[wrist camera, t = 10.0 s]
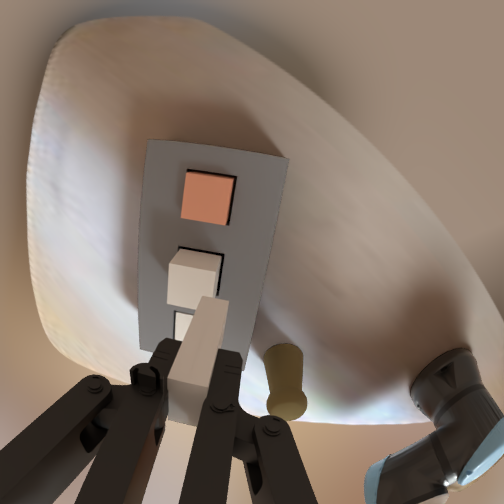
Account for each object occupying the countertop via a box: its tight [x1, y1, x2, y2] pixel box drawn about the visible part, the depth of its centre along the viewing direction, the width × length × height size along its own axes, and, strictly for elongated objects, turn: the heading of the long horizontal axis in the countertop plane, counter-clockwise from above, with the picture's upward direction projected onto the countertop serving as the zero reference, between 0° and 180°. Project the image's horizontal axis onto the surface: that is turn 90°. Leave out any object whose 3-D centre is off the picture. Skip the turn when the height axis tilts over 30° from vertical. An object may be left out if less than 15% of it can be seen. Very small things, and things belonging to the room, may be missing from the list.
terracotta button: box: [181, 170, 236, 225], centre depth 29 cm, size 4×4×4 cm
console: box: [138, 139, 289, 371], centre depth 33 cm, size 14×26×6 cm, turn 170°
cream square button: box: [175, 311, 194, 341], centre depth 35 cm, size 4×4×4 cm
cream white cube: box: [167, 249, 222, 310], centre depth 29 cm, size 4×4×4 cm
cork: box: [264, 344, 307, 421], centre depth 36 cm, size 6×6×11 cm
